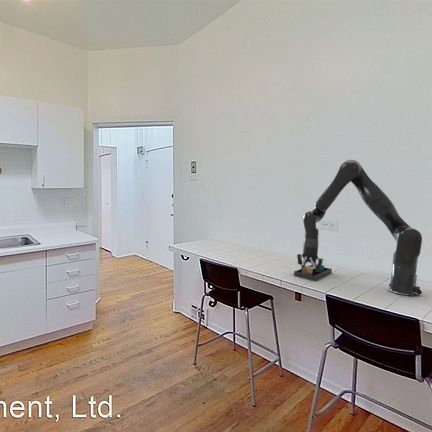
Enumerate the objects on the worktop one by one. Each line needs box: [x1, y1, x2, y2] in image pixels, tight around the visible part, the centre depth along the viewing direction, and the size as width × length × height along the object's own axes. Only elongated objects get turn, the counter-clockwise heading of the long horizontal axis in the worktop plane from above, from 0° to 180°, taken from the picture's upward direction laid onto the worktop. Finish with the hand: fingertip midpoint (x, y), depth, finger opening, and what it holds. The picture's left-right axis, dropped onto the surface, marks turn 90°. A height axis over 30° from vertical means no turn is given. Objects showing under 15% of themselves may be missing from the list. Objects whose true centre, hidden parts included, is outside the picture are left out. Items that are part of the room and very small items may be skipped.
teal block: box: [309, 263, 325, 272], centre depth 183 cm, size 6×6×4 cm
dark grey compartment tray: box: [293, 264, 333, 282], centre depth 179 cm, size 12×22×3 cm, turn 127°
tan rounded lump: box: [302, 265, 314, 276], centre depth 176 cm, size 6×6×4 cm
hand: (308, 273), depth 176 cm, fingers closed on tan rounded lump, 5 cm apart
